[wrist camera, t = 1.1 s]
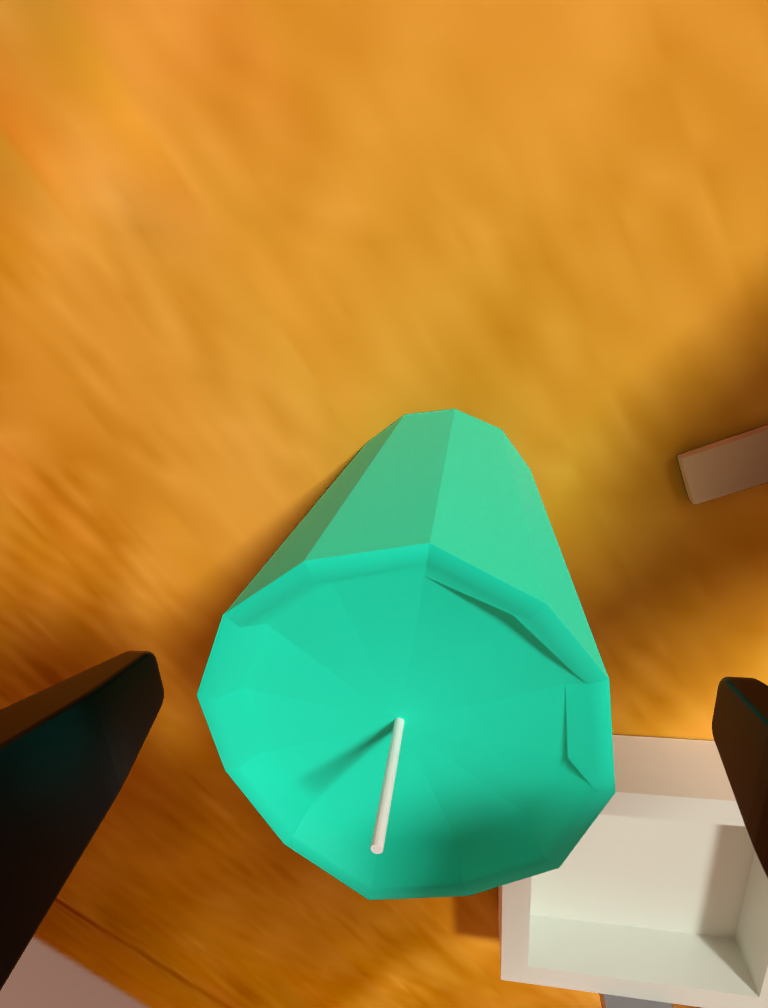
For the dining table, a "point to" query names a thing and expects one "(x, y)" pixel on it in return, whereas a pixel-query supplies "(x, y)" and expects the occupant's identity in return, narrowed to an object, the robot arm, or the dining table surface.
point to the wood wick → (726, 466)
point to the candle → (417, 674)
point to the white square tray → (649, 892)
